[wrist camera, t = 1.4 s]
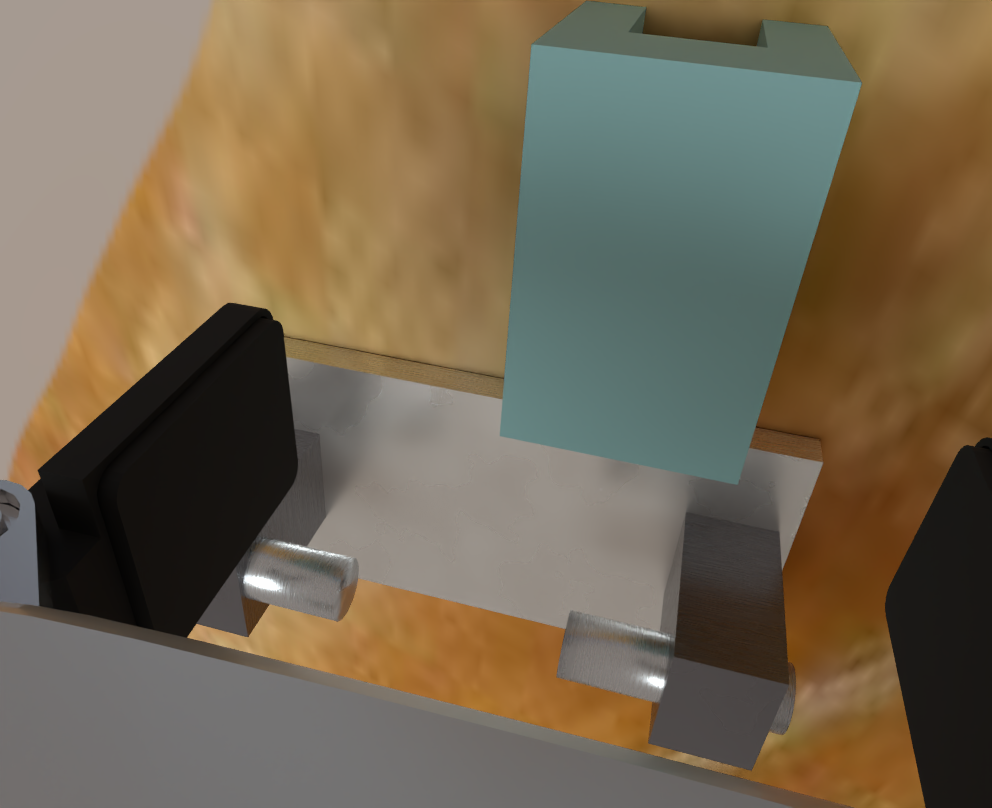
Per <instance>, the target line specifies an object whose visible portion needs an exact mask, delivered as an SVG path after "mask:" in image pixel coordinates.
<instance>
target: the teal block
mask: <svg viewBox="0 0 992 808" xmlns="http://www.w3.org/2000/svg"><path fill="white" fill-rule="evenodd" d="M645 13H646V7H640V6H631V5H621V4H612V3H602V2H593V1H586V2H584V3H583V4H582V5H580V6H579V7H578V8H577V9H575V10H574V11H573V12H572V13H570V14H569V15H568V16H567V17H565V18H564V19H563V20H562V21H560V22H559V23H558V24H557V25H555V26H554V27H553V28H551V29H550V30H549V31H548V32H546V33H545V34H544V35H543V36H541V37H540V38H539V39H538V40H536V41H535V42H534V43H533V44H532V45H531V57H530V69H529V82H528V94H527V106H526V118H525V131H524V143H523V155H522V167H521V179H520V192H519V204H518V216H517V228H516V241H515V253H514V265H513V277H512V290H511V302H510V314H509V326H508V339H507V351H506V363H505V375H504V388H503V400H502V412H501V424H500V436H501V437H506V438H511V439H516V440H521V441H526V442H531V443H536V444H541V445H545V446H550V447H555V448H560V449H565V450H570V451H575V452H580V453H584V454H589V455H594V456H599V457H604V458H609V459H614V460H619V461H624V462H628V463H633V464H638V465H643V466H648V467H653V468H658V469H663V470H667V471H672V472H677V473H682V474H687V475H692V476H697V477H702V478H707V479H711V480H716V481H721V482H726V483H731V484H736V485H738V482H739V479H740V476H741V472H742V469H743V466H744V463H745V459H746V456H747V453H748V450H749V447H750V443H751V440H752V437H753V434H754V430H755V427H756V424H757V421H758V417H759V414H760V411H761V408H762V405H763V401H764V398H765V395H766V392H767V388H768V385H769V382H770V379H771V375H772V372H773V369H774V366H775V363H776V359H777V356H778V353H779V350H780V346H781V343H782V340H783V337H784V333H785V330H786V327H787V324H788V320H789V317H790V314H791V311H792V308H793V304H794V301H795V298H796V295H797V291H798V288H799V285H800V282H801V278H802V275H803V272H804V269H805V266H806V262H807V259H808V256H809V253H810V249H811V246H812V243H813V240H814V236H815V233H816V230H817V227H818V224H819V220H820V217H821V214H822V211H823V207H824V204H825V201H826V198H827V194H828V191H829V188H830V185H831V182H832V178H833V175H834V172H835V169H836V165H837V162H838V159H839V156H840V152H841V149H842V146H843V143H844V140H845V136H846V133H847V130H848V127H849V123H850V120H851V117H852V114H853V110H854V107H855V104H856V101H857V98H858V94H859V91H860V88H861V85H862V82H861V80H860V79H859V77H858V75H857V74H856V72H855V70H854V69H853V67H852V65H851V64H850V62H849V61H848V59H847V57H846V56H845V54H844V52H843V51H842V49H841V47H840V46H839V44H838V42H837V41H836V39H835V38H834V36H833V34H832V33H831V31H830V29H829V28H828V26H821V25H811V24H802V23H792V22H783V21H773V20H764V19H763V21H762V25H761V29H760V34H759V38H758V42H757V46H748V45H739V44H730V43H721V42H712V41H703V40H694V39H685V38H676V37H667V36H658V35H649V34H642V33H643V26H644V20H645Z"/></svg>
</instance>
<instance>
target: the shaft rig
mask: <svg viewBox="0 0 992 808" xmlns="http://www.w3.org/2000/svg"><path fill="white" fill-rule="evenodd" d="M284 342H285V350H286V359H287V368H288V377H289V386H290V395H291V403H292V412H293V421H294V430H295V439H296V448H297V456H298V471H297V475H296V479H295V481H294V483H293V485H292V487H291V488H290V490H289V491H288V493H287V494H286V496H285V497H284V499H283V500H282V501H281V503H280V504H279V506H278V507H277V509H276V510H275V511H274V513H273V514H272V516H271V517H270V519H269V520H268V522H267V523H266V524H265V526H264V527H263V529H262V530H261V532H260V533H259V534H258V536H257V537H256V539H255V540H254V542H253V543H252V544H251V546H250V547H249V549H248V550H247V552H246V553H245V555H244V556H243V557H242V559H241V560H240V562H239V563H238V565H237V566H236V567H235V569H234V570H233V572H232V573H231V575H230V576H229V578H228V579H227V580H226V582H225V583H224V585H223V586H222V588H221V589H220V590H219V592H218V593H217V595H216V596H215V598H214V599H213V601H212V602H211V603H210V605H209V606H208V608H207V609H206V611H205V612H204V613H203V615H202V616H201V618H200V619H199V621H198V622H197V623H196V624H200V625H203V626H207V627H211V628H215V629H219V630H222V631H226V632H230V633H234V634H237V635H241V636H245V637H249V635H250V634H251V632H252V630H253V629H254V627H255V626H256V624H257V623H258V621H259V620H260V618H261V617H262V615H263V613H264V612H265V610H266V609H267V607H268V606H269V604H271V605H275V606H279V607H283V608H287V609H291V610H295V611H299V612H303V613H307V614H311V615H315V616H318V617H322V618H326V619H330V620H334V621H340V620H342V619H343V617H344V616H345V615H346V613H347V611H348V609H349V607H350V605H351V603H352V600H353V597H354V594H355V591H356V587H357V582H358V578H359V579H363V580H368V581H372V582H376V583H380V584H384V585H388V586H392V587H396V588H400V589H404V590H408V591H413V592H417V593H421V594H425V595H429V596H433V597H437V598H441V599H445V600H449V601H454V602H458V603H462V604H466V605H470V606H474V607H478V608H482V609H486V610H490V611H494V612H499V613H503V614H507V615H511V616H515V617H519V618H523V619H527V620H531V621H535V622H539V623H544V624H548V625H552V626H556V627H560V628H564V629H566V630H565V635H564V639H563V644H562V649H561V654H560V659H559V665H558V670H557V678H561V679H565V680H569V681H573V682H577V683H581V684H585V685H588V686H592V687H596V688H600V689H604V690H608V691H612V692H616V693H620V694H624V695H628V696H631V697H635V698H639V699H643V700H647V701H651V702H652V712H651V721H650V731H649V740H648V743H649V744H653V745H657V746H661V747H664V748H668V749H672V750H676V751H679V752H683V753H687V754H691V755H695V756H698V757H702V758H706V759H710V760H713V761H717V762H721V763H725V764H728V765H732V766H736V767H740V768H744V769H747V770H751V771H752V768H753V766H754V764H755V762H756V759H757V757H758V755H759V753H760V750H761V748H762V746H763V743H764V741H765V739H766V737H767V734H768V732H772V733H776V734H780V735H783V734H785V732H786V731H787V729H788V727H789V724H790V721H791V717H792V713H793V708H794V702H795V692H796V675H795V669H794V666H793V664H792V663H790V662H788V657H787V642H786V626H785V610H784V594H783V578H782V570H783V567H784V564H785V562H786V559H787V556H788V554H789V551H790V549H791V546H792V543H793V541H794V538H795V535H796V533H797V530H798V528H799V525H800V522H801V520H802V517H803V515H804V512H805V509H806V507H807V504H808V501H809V499H810V496H811V494H812V491H813V488H814V486H815V483H816V480H817V478H818V475H819V473H820V470H821V467H822V465H823V457H822V450H821V443H820V440H819V439H814V438H808V437H803V436H798V435H793V434H788V433H782V432H777V431H772V430H767V429H762V428H756V427H755V430H754V434H753V437H752V440H751V443H750V447H749V450H748V453H747V456H746V459H745V463H744V466H743V469H742V472H741V476H740V479H739V482H738V485H736V484H731V483H726V482H721V481H716V480H711V479H707V478H702V477H697V476H692V475H687V474H682V473H677V472H672V471H667V470H663V469H658V468H653V467H648V466H643V465H638V464H633V463H628V462H624V461H619V460H614V459H609V458H604V457H599V456H594V455H589V454H584V453H580V452H575V451H570V450H565V449H560V448H555V447H550V446H545V445H541V444H536V443H531V442H526V441H521V440H516V439H511V438H506V437H501V436H500V424H501V412H502V400H503V388H504V379H501V378H496V377H491V376H485V375H480V374H475V373H470V372H464V371H459V370H454V369H449V368H444V367H438V366H433V365H428V364H423V363H418V362H412V361H407V360H402V359H397V358H391V357H386V356H381V355H376V354H371V353H365V352H360V351H355V350H350V349H345V348H339V347H334V346H329V345H324V344H319V343H313V342H308V341H303V340H298V339H292V338H287V337H284Z"/></svg>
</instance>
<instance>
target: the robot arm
mask: <svg viewBox="0 0 992 808" xmlns="http://www.w3.org/2000/svg"><path fill="white" fill-rule="evenodd" d="M297 471H298V456H297V448H296V439H295V430H294V421H293V412H292V403H291V395H290V386H289V377H288V368H287V359H286V350H285V342H284V333H283V328H282V325H281V323H280V322H278V321H275V320H273V317H272V315H271V313H270V311H268V310H267V309H264V308H258V307H253V306H247V305H241V304H236V303H227V304H226V305H224V306H223V307H222V308H220V309H219V310H218V311H217V312H216V313H215V314H214V315H212V316H211V317H210V318H209V319H208V320H207V321H206V322H205V323H203V324H202V325H201V326H200V327H199V328H198V329H197V330H196V331H194V332H193V333H192V334H191V335H190V336H189V337H188V338H186V339H185V340H184V341H183V342H182V343H181V344H180V345H179V346H177V347H176V348H175V349H174V350H173V351H172V352H171V353H170V354H168V355H167V356H166V357H165V358H164V359H163V360H162V361H160V362H159V363H158V364H157V365H156V366H155V367H154V368H153V369H151V370H150V371H149V372H148V373H147V374H146V375H145V376H144V377H142V378H141V379H140V380H139V381H138V382H137V383H136V384H134V385H133V386H132V387H131V388H130V389H129V390H128V391H127V392H125V393H124V394H123V395H122V396H121V397H120V398H119V399H118V400H116V401H115V402H114V403H113V404H112V405H111V406H110V407H108V408H107V409H106V410H105V411H104V412H103V413H102V414H101V415H99V416H98V417H97V418H96V419H95V420H94V421H93V422H92V423H90V424H89V425H88V426H87V427H86V428H85V429H84V430H82V431H81V432H80V433H79V434H78V435H77V436H76V437H75V438H73V439H72V440H71V441H70V442H69V443H68V444H67V445H66V446H64V447H63V448H62V449H61V450H60V451H59V452H58V453H56V454H55V455H54V456H53V457H52V458H51V459H50V460H49V461H47V462H46V463H45V464H44V465H43V466H42V467H41V468H40V469H38V472H39V475H40V478H41V479H40V480H39V481H38V482H37V483H35V484H34V485H33V486H32V487H31V488H30V489H29V490H27V489H25V488H24V487H23V486H22V485H20V484H16V483H13V482H10V481H7V480H0V808H853V807H850V806H846V805H842V804H838V803H835V802H831V801H827V800H823V799H819V798H815V797H812V796H808V795H804V794H800V793H796V792H792V791H788V790H785V789H781V788H777V787H773V786H769V785H765V784H762V783H758V782H754V781H750V780H746V779H742V778H738V777H735V776H731V775H727V774H723V773H719V772H715V771H712V770H708V769H704V768H700V767H696V766H692V765H688V764H685V763H681V762H677V761H673V760H669V759H665V758H662V757H658V756H654V755H650V754H646V753H642V752H638V751H635V750H631V749H627V748H623V747H619V746H615V745H611V744H607V743H603V742H599V741H596V740H592V739H588V738H584V737H580V736H576V735H572V734H568V733H564V732H560V731H556V730H553V729H549V728H545V727H541V726H537V725H533V724H529V723H525V722H521V721H517V720H513V719H509V718H506V717H502V716H498V715H494V714H490V713H486V712H482V711H478V710H474V709H470V708H466V707H462V706H458V705H454V704H450V703H446V702H442V701H439V700H435V699H431V698H427V697H423V696H419V695H415V694H411V693H407V692H403V691H399V690H395V689H391V688H387V687H383V686H379V685H375V684H371V683H367V682H363V681H359V680H355V679H351V678H347V677H343V676H339V675H335V674H331V673H327V672H323V671H319V670H315V669H311V668H307V667H303V666H299V665H295V664H291V663H287V662H283V661H279V660H275V659H271V658H267V657H263V656H259V655H255V654H251V653H247V652H243V651H239V650H235V649H231V648H226V647H222V646H218V645H214V644H210V643H206V642H202V641H198V640H194V639H190V638H187V636H188V635H189V634H190V632H191V631H192V629H193V628H194V626H195V625H196V623H197V622H198V621H199V619H200V618H201V616H202V615H203V613H204V612H205V611H206V609H207V608H208V606H209V605H210V603H211V602H212V601H213V599H214V598H215V596H216V595H217V593H218V592H219V590H220V589H221V588H222V586H223V585H224V583H225V582H226V580H227V579H228V578H229V576H230V575H231V573H232V572H233V570H234V569H235V567H236V566H237V565H238V563H239V562H240V560H241V559H242V557H243V556H244V555H245V553H246V552H247V550H248V549H249V547H250V546H251V544H252V543H253V542H254V540H255V539H256V537H257V536H258V534H259V533H260V532H261V530H262V529H263V527H264V526H265V524H266V523H267V522H268V520H269V519H270V517H271V516H272V514H273V513H274V511H275V510H276V509H277V507H278V506H279V504H280V503H281V501H282V500H283V499H284V497H285V496H286V494H287V493H288V491H289V490H290V488H291V487H292V485H293V483H294V481H295V479H296V475H297ZM885 612H886V619H887V623H888V628H889V633H890V638H891V643H892V648H893V652H894V657H895V662H896V667H897V672H898V676H899V681H900V686H901V691H902V696H903V701H904V705H905V710H906V715H907V720H908V725H909V730H910V734H911V739H912V744H913V749H914V754H915V758H916V763H917V768H918V773H919V778H920V783H921V787H922V792H923V797H924V802H925V807H926V808H992V438H988V437H987V438H983V439H981V440H980V441H979V442H978V443H977V444H976V446H975V447H974V446H968V445H967V446H964V447H963V448H961V449H960V451H959V452H958V454H957V456H956V457H955V459H954V461H953V463H952V465H951V467H950V469H949V471H948V473H947V475H946V477H945V479H944V481H943V483H942V485H941V487H940V489H939V491H938V493H937V494H936V496H935V498H934V500H933V502H932V504H931V506H930V508H929V510H928V512H927V514H926V516H925V518H924V520H923V522H922V524H921V526H920V528H919V530H918V531H917V533H916V535H915V537H914V539H913V541H912V543H911V545H910V547H909V549H908V551H907V553H906V555H905V557H904V559H903V561H902V563H901V565H900V567H899V569H898V570H897V572H896V574H895V576H894V578H893V580H892V582H891V584H890V586H889V589H888V592H887V596H886V602H885Z"/></svg>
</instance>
